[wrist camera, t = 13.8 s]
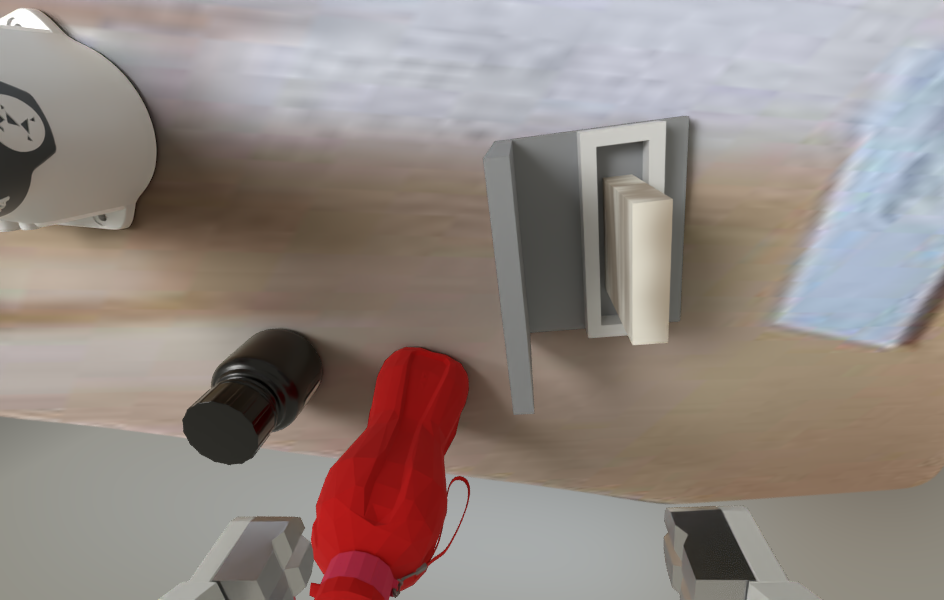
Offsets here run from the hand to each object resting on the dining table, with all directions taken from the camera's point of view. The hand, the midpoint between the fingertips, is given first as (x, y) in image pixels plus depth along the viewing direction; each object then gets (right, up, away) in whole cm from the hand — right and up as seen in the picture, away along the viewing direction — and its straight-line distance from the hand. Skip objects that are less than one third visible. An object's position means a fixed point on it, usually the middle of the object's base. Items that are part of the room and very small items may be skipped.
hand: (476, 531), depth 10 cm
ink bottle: (-21, -2, +40) cm, 45 cm away
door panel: (+13, +11, +30) cm, 34 cm away
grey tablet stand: (+11, +11, +31) cm, 35 cm away
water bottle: (-4, -4, +40) cm, 40 cm away
